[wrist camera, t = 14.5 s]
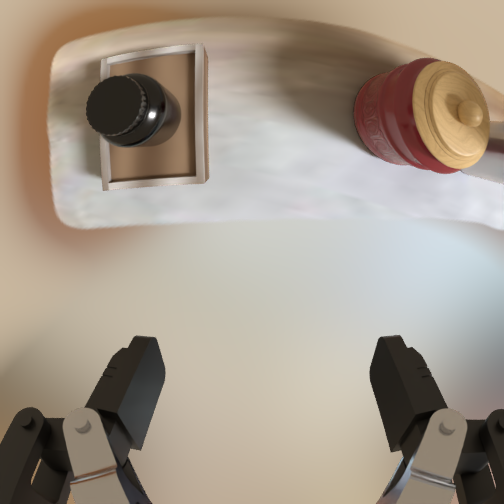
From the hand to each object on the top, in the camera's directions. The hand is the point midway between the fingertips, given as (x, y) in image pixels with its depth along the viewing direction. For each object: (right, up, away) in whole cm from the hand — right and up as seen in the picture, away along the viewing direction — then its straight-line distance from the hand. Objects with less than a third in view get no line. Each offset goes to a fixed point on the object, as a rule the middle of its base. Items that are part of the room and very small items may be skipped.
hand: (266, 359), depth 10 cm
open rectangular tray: (-12, +21, +24) cm, 34 cm away
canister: (+19, +22, +25) cm, 38 cm away
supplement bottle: (-11, +19, +19) cm, 29 cm away
